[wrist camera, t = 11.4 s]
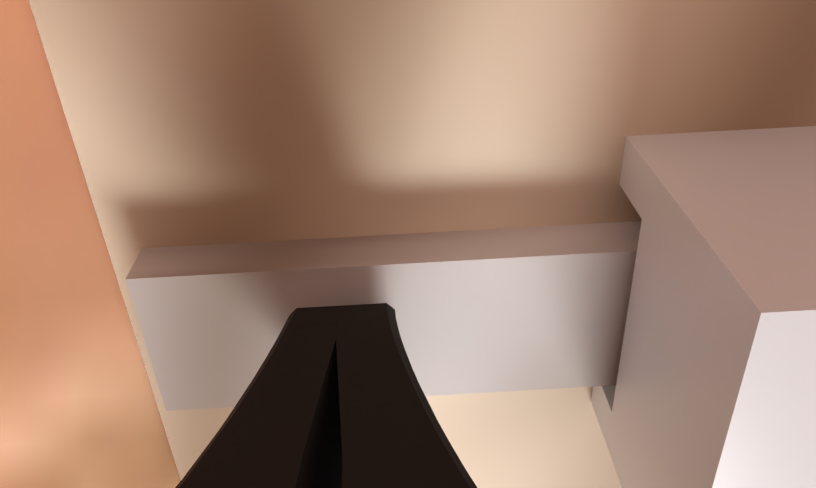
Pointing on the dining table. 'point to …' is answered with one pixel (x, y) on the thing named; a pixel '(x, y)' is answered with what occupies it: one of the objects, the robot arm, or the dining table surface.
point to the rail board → (403, 187)
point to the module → (718, 313)
